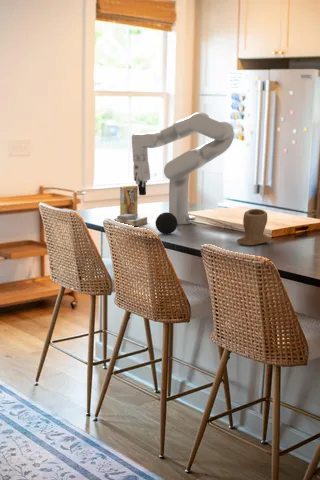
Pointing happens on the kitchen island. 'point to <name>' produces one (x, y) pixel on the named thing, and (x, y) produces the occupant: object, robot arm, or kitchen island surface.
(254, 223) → the stone cup
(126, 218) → the crate
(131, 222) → the bay
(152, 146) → the robot arm
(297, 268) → the kitchen island surface
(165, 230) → the speaker
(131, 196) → the candy box
